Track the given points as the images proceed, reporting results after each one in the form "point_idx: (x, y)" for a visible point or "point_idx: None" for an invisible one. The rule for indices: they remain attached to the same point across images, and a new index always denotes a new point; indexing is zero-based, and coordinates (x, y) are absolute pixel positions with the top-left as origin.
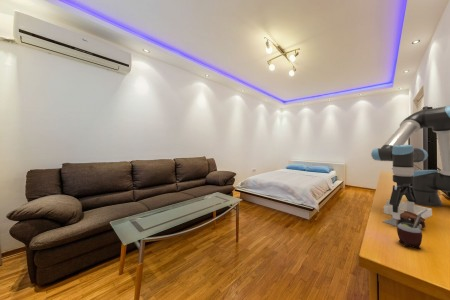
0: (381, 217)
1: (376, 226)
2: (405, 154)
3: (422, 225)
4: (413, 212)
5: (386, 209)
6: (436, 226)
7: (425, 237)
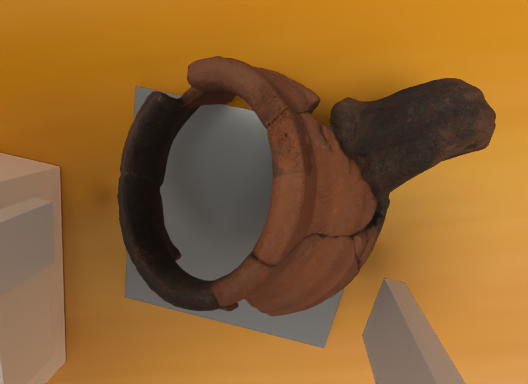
0: (203, 359)
1: (493, 358)
2: None
3: (210, 98)
4: (23, 214)
5: (33, 380)
6: (26, 25)
7: (482, 37)
